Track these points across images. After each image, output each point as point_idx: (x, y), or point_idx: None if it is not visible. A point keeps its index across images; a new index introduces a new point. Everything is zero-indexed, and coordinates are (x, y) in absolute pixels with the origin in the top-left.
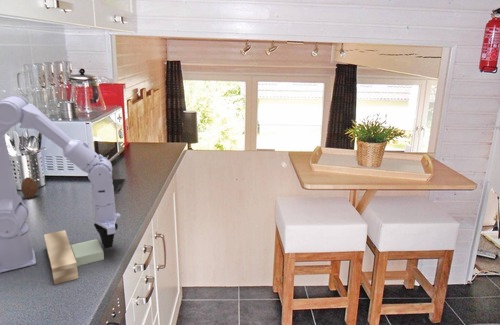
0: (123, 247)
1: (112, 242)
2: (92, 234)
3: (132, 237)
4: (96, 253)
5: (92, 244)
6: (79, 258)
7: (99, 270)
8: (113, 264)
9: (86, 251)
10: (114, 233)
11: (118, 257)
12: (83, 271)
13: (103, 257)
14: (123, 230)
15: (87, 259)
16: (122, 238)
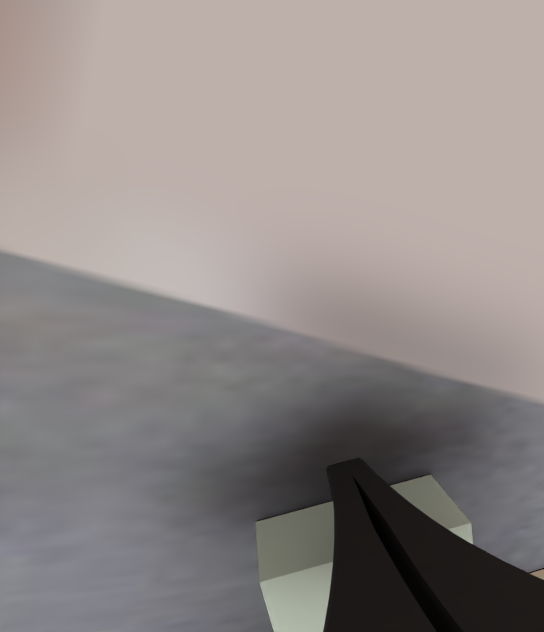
0: (319, 368)
1: (382, 479)
2: (53, 573)
3: (171, 299)
4: None
5: None
6: None
7: (532, 486)
8: (507, 422)
9: None
10: (473, 545)
11: (440, 397)
12: (504, 554)
13: (441, 487)
14: (14, 369)
15: None
16: (170, 375)
